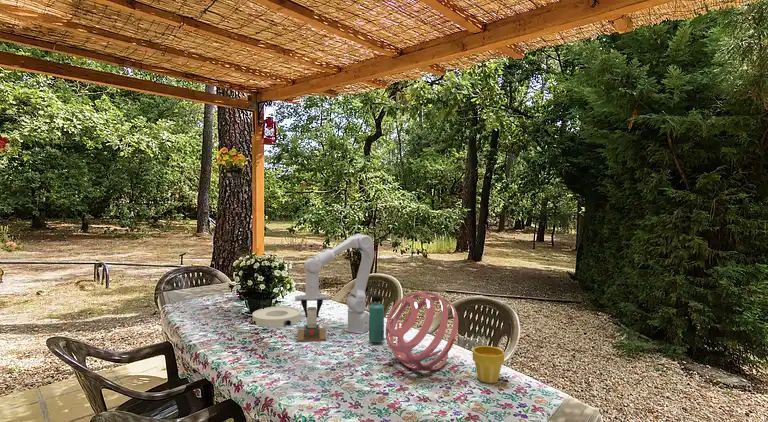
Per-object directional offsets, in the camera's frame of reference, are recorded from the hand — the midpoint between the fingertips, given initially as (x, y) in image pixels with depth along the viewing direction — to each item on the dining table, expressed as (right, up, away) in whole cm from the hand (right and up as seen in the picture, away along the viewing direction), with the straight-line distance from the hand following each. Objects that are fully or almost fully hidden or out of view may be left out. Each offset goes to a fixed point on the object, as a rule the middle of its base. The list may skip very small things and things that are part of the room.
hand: (311, 317), depth 182 cm
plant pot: (+67, -11, -41) cm, 79 cm away
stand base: (0, -8, 0) cm, 8 cm away
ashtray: (-21, -8, +23) cm, 33 cm away
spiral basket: (+44, -10, -30) cm, 54 cm away
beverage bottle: (+28, -9, -7) cm, 31 cm away
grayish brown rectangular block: (0, -4, 0) cm, 4 cm away
